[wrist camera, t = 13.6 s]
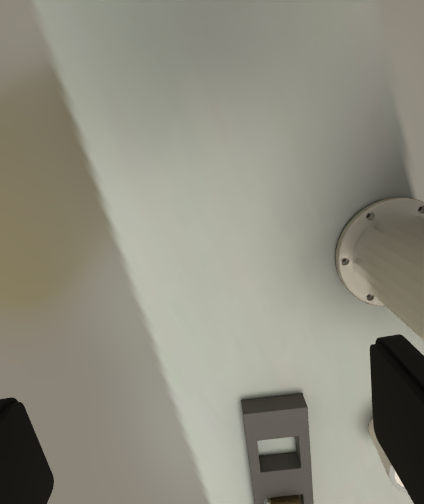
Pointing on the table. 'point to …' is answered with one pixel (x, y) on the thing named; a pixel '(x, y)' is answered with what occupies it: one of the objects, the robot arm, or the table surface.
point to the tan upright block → (285, 500)
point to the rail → (279, 465)
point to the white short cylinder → (386, 461)
